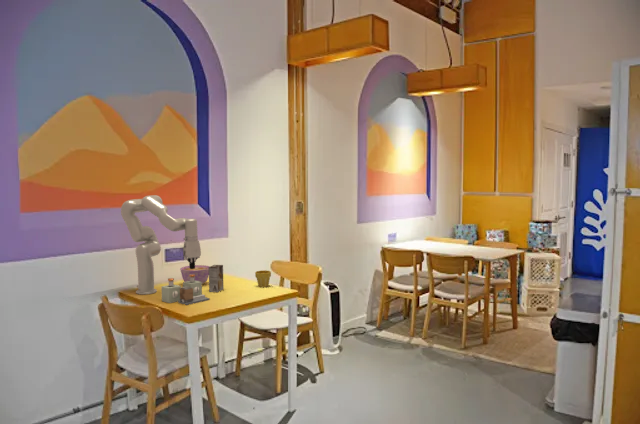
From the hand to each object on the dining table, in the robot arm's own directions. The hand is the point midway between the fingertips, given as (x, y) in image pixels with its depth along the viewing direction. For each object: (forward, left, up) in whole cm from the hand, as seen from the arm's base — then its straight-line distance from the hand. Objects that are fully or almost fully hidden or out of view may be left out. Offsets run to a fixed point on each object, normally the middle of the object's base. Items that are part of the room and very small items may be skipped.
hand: (192, 268), depth 320 cm
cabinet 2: (0, 0, -17) cm, 17 cm away
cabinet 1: (0, -15, -17) cm, 23 cm away
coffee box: (-1, +19, -18) cm, 26 cm away
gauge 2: (0, 0, -11) cm, 11 cm away
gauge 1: (0, -15, -11) cm, 19 cm away
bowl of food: (-26, +21, -18) cm, 38 cm away
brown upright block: (+11, -12, -16) cm, 23 cm away
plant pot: (+13, +47, -18) cm, 52 cm away
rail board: (+11, -7, -17) cm, 22 cm away
